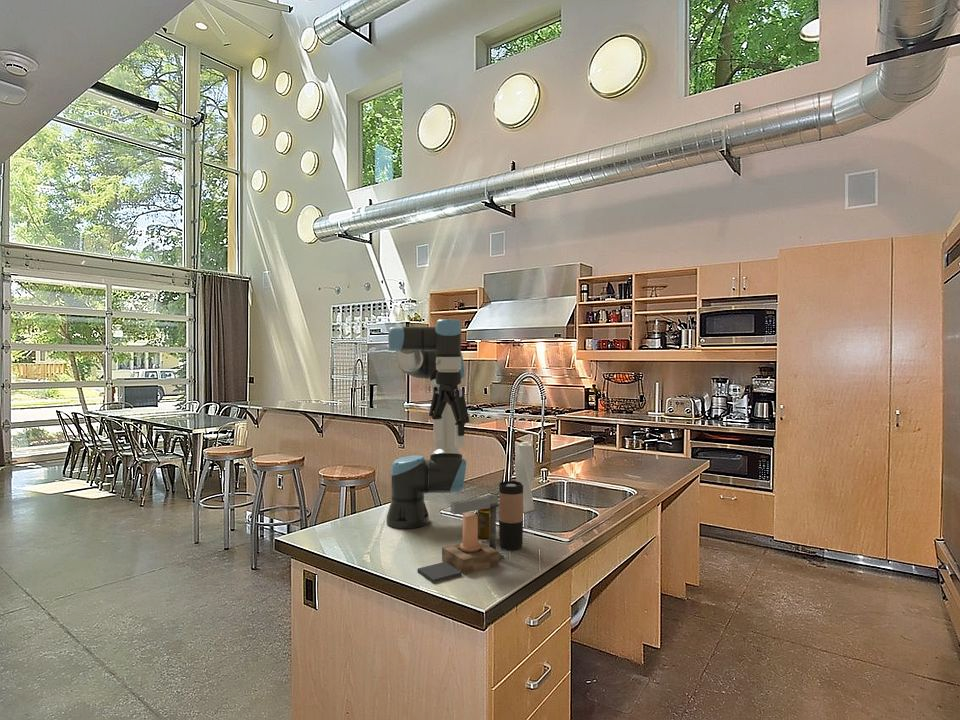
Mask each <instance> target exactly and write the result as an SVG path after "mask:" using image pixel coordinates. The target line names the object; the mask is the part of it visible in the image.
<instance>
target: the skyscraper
mask: <svg viewBox="0 0 960 720" xmlns="http://www.w3.org/2000/svg"><path fill="white" fill-rule="evenodd" d="M533 444H534V440H533V438H531V439H530V443H529V441H521V443H519V442H517V443H516V451H515V460H514V472H515V473H514V474H515V480H516V481H517V482H520V483H521V484H522V485H523V515H524V514H529V513H532V512H535V511H538V508H535V504H534V500H533V494H532V486H533V481H534V477H535V466H536V465H535V454H534V452H535V451H534V447H533V446H534V445H533Z"/></svg>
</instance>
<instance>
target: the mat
mask: <svg viewBox="0 0 960 720" xmlns="http://www.w3.org/2000/svg"><path fill="white" fill-rule="evenodd" d="M417 573H418V574H420V575H421V576H422V577H424V578H425V579H426V580H428V581H429V582H431V583H432V584H437V583H440V582H443V581H447V580H451V579H454V578H458V577H462V575H463V573H462V572H461V571H459V570H458V569H456V568H454V567H453V566H451V565H450V564H448V563H446V562H443V561H442V562H439V563H434V564H431V565H426V566H422V567H418V568H417Z"/></svg>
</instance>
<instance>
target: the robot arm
mask: <svg viewBox="0 0 960 720" xmlns="http://www.w3.org/2000/svg"><path fill="white" fill-rule="evenodd" d="M387 340H388V349H389V350H390V351H393V352H394V351H395V352H397V356H396V363H397V366H398V367H399V369H400V370H401V371H402V372H404V373H405V374H406V375H408V376H410V377H413V378H416V379H429V383H430V385H431V386H433V389H432V390H433V393H432V394H433V395H432V399H431V404H430V407H429V413H428V415H429V417H431V418H432V420H433V423H432V424H433V427H432V428H433V436H432V437H433V442H434V446H433V448H434V449H433V452H431V454H430V457H429V458H430V459H426V458H425V456H423V455H407V456H402V457H399V458H397V459H395V460H393V462H392V463H391V472H390V476H391V491H390V492H391V495H390V496H391V498H390V504H389V508H388V511H387V515H386V520H385V521H386V525H387V526H389V527H391V528H396V529H403V530H404V529H406V530H407V529H417V528H421V527H424V526H426V525H428V524H429V523H430V515H429V511H428V508H427V504H426V503H425V494H440V493H441V494H444V493H446V494H447V493H449V494H451V493H460V492H462V491H463V489H464V485H465V481H466V479H465V478H466V473H467V472H466V469H467V459H464V458H463V454H462V453H461V452H460V451H459V448H461V447H465V425H466V424H468V423H470V418H469V412H468V408H467V404H466V399H465V389H459V388H458V386H460V385H461V384H462V379H465V375H466V374H465V365H464V358H463V354H462V323H461V321H460V320H459V319H454V318H453V319H451V318H449V319H447V318H446V319H437V320H436V323H435V326H402V325H400V326H391V327H389V329H388V339H387Z"/></svg>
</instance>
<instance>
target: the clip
mask: <svg viewBox="0 0 960 720" xmlns="http://www.w3.org/2000/svg"><path fill="white" fill-rule="evenodd" d="M486 508H496V509H497V508H499V494H487V495H485V496H479V497H474V498H469V499H468V498H467V499H463V500H457V501H452V502H450V513H451V514H452V515H459V514H466V513H471V512H475V511H478V510H481V509H486Z"/></svg>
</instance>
